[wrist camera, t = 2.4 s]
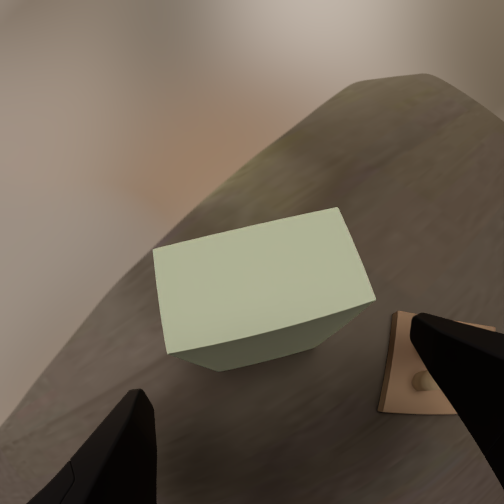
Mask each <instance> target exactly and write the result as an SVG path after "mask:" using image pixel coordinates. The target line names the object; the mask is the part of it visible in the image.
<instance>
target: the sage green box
mask: <svg viewBox="0 0 504 504" xmlns="http://www.w3.org/2000/svg"><path fill="white" fill-rule="evenodd" d="M153 256H154V266H155V275H156V283H157V291H158V299H159V306H160V313H161V320H162V326H163V332H164V338H165V344H166V350H167V354H169V355H172V356H174V357H177V358H180V359H182V360H185V361H188V362H191V363H194V364H197V365H199V366H202V367H205V368H208V369H211V370H214V371H217V372H221V371H226V370H231V369H235V368H240V367H244V366H248V365H252V364H257V363H261V362H265V361H269V360H272V359H276V358H280V357H284V356H287V355H291V354H295V353H298V352H302V351H305V350H308V349H312V348H315V347H317V346H318V345H319V344H321V343H322V342H323V341H325V340H326V339H328V338H329V337H330V336H331V335H333V334H334V333H335V332H337V331H338V330H339V329H341V328H342V327H343V326H344V325H346V324H347V323H348V322H350V321H351V320H352V319H353V318H355V317H356V316H357V315H358V314H360V313H361V312H362V311H363V310H364V309H366V308H367V307H368V306H369V305H370V304H372V303H373V302H374V301H375V300H376V298H375V295H374V292H373V290H372V287H371V285H370V282H369V279H368V277H367V274H366V272H365V269H364V267H363V264H362V262H361V259H360V257H359V254H358V252H357V250H356V247H355V245H354V242H353V240H352V238H351V236H350V233H349V231H348V229H347V226H346V224H345V222H344V220H343V217H342V215H341V213H340V211H339V209H338V207H336V208H331V209H326V210H322V211H317V212H312V213H307V214H303V215H298V216H293V217H289V218H284V219H280V220H275V221H271V222H266V223H262V224H257V225H253V226H248V227H244V228H240V229H235V230H231V231H227V232H222V233H218V234H214V235H210V236H205V237H201V238H197V239H193V240H189V241H184V242H180V243H176V244H172V245H168V246H164V247H160V248H156V249H153Z"/></svg>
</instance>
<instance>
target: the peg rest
mask: <svg viewBox="0 0 504 504" xmlns="http://www.w3.org/2000/svg"><path fill="white" fill-rule="evenodd" d="M415 315H417V314H414V313H408V312H403V311H397V312H395V313H394V314H392V324H391V333H390V341H389V349H388V356H387V362H386V369H385V375H384V380H383V386H382V391H381V396H380V401H379V406H378V410H377V411H379V412H389V413H407V414H457V412H456V411H455V409H454V408H453V407H452V405H451V404H450V402H449V401H448V399H447V398H446V396H445V395H444V393H443V392H442V391H441V389H440V388H439V386H438V385H437V384H436V382H435V381H434V379H433V378H432V377H431V375H430V374H429V372H428V370H427V369H426V367H425V365H424V363H423V362H422V360H421V358H420V356H419V355H418V353H417V351H416V350H415V348H414V346H413V344H412V343H411V341H410V327H411V320H412V317H413V316H415ZM456 322H459V321H456ZM460 323H464V324H468V325H472V326H475V327H479V328H483V329H487V330H491V331H494V332H495V327H490V326H484V325H478V324H472V323H465V322H460Z"/></svg>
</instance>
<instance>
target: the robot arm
mask: <svg viewBox="0 0 504 504" xmlns="http://www.w3.org/2000/svg"><path fill="white" fill-rule="evenodd" d="M410 341H411V343H412V344H413V346H414V348H415V350H416V351H417V353H418V355H419V356H420V358H421V360H422V362H423V363H424V365H425V367H426V369H427V370H428V372H429V374H430V375H431V377H432V378H433V379H434V381H435V382H436V384H437V385H438V386H439V388H440V389H441V391H442V392H443V393H444V395H445V396H446V398H447V399H448V401H449V402H450V404H451V405H452V407H453V408H454V409H455V411H456V412H457V414H458V415H459V417H460V418H461V420H462V421H463V423H464V424H465V426H466V427H467V429H468V431H469V432H470V434H471V435H472V437H473V438H474V440H475V442H476V443H477V445H478V446H479V448H480V450H481V451H482V453H483V454H484V456H485V458H486V460H487V461H488V463H489V465H490V466H491V468H492V470H493V472H494V473H495V475H496V477H497V478H498V480H499V482H500V484H501V486H502V487H503V489H504V334H502V333H498V332H494V331H491V330H487V329H483V328H479V327H475V326H472V325H468V324H464V323H460V322H456V321H453V320H449V319H445V318H442V317H438V316H434V315H430V314H427V313H419V314H417V315H415V316H413V317H412V320H411V327H410ZM156 476H157V444H156V432H155V418H154V409H153V406H152V404H151V402H150V401H149V399H148V397H147V396H146V394H145V392H144V391H143V390H142V389H133V390H129V391H128V392H127V394H126V395H125V396H124V397H123V398H122V399H121V401H120V402H119V403H118V404H117V405H116V406H115V408H114V409H113V410H112V411H111V412H110V413H109V415H108V416H107V417H106V418H105V419H104V420H103V422H102V423H101V424H100V425H99V426H98V427H97V428H96V430H95V431H94V432H93V433H92V434H91V435H90V437H89V438H88V439H87V440H86V441H85V442H84V444H83V445H82V446H81V447H80V448H79V449H78V451H77V452H76V453H75V454H74V455H73V456H72V458H71V459H70V461H68V462H67V463H66V465H65V466H64V467H63V468H62V469H61V470H60V471H59V472H58V474H57V475H56V476H55V477H54V478H53V479H52V480H51V481H50V482H49V483H48V484H47V485H46V486H45V487H44V488H43V489H42V490H41V491H39V492H38V493H37V494H36V495H35V496H34V497H33V498H32V499H31V500H30V501H29V502H28V503H27V504H156Z"/></svg>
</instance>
